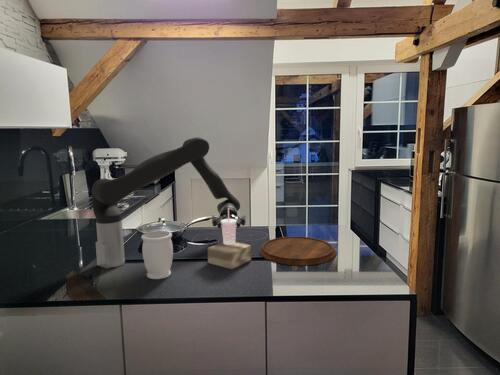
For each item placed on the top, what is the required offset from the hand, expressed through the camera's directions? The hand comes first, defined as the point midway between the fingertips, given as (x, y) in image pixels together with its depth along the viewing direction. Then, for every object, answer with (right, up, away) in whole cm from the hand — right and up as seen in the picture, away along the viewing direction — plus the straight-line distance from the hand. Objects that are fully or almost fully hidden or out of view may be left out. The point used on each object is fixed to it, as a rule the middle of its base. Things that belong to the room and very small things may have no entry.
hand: (228, 225), depth 141 cm
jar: (-24, -17, -8) cm, 31 cm away
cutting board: (+28, -13, +15) cm, 34 cm away
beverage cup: (0, -7, +4) cm, 8 cm away
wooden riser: (0, -14, +5) cm, 15 cm away
